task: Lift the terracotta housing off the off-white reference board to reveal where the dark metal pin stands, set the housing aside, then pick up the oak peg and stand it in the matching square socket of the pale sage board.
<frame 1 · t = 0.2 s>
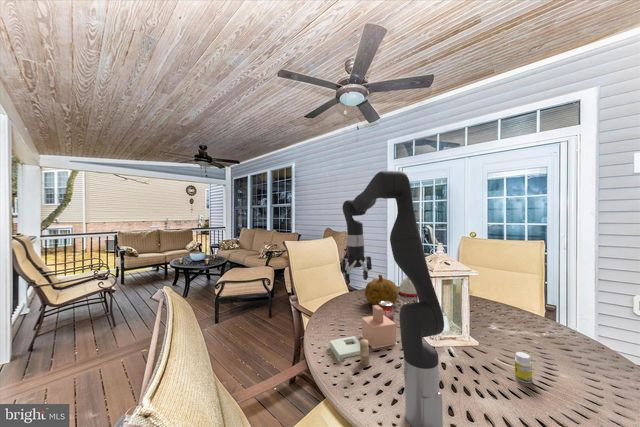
hand: (356, 280, 117), 29 cm above the table, fingers open, 8 cm apart
decorative pumpkin: (381, 305, 163), on the table
housing: (378, 339, 117), point 1 cm above the table, touching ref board
kitchen timer: (409, 293, 184), on the table
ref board: (378, 342, 117), on the table
soda can: (386, 326, 133), on the table
peg board: (347, 351, 111), on the table
peg: (364, 366, 100), on the table
supplement bottle: (523, 379, 90), on the table
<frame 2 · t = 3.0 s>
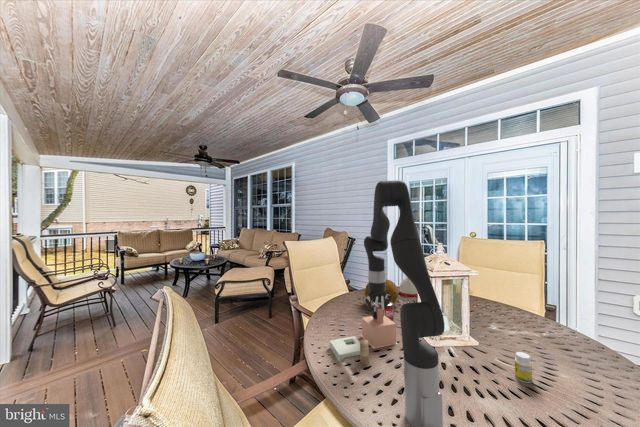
hand: (378, 318, 117), 11 cm above the table, fingers closed on housing, 2 cm apart
housing: (378, 339, 117), point 2 cm above the table, touching gripper
everything else where it was.
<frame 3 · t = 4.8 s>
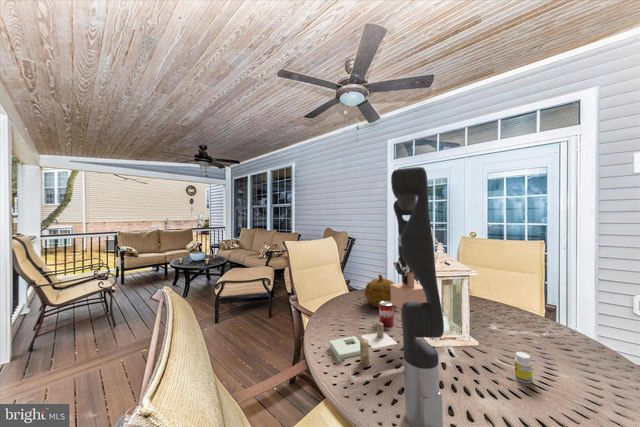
hand: (408, 283, 115), 27 cm above the table, fingers closed on housing, 2 cm apart
housing: (408, 305, 115), point 17 cm above the table, touching gripper
everything else where it was.
when the fingers open (12 cm above the table, at t = 7.1 s): housing drops 2 cm, on the table.
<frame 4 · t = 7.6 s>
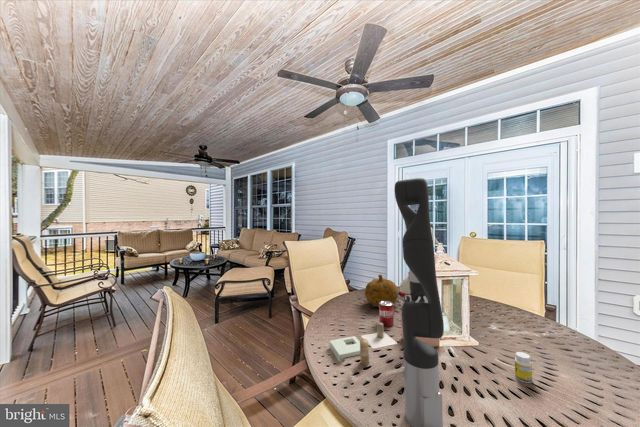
hand: (419, 317, 114), 12 cm above the table, fingers open, 7 cm apart
housing: (420, 345, 114), on the table
everything else where it was.
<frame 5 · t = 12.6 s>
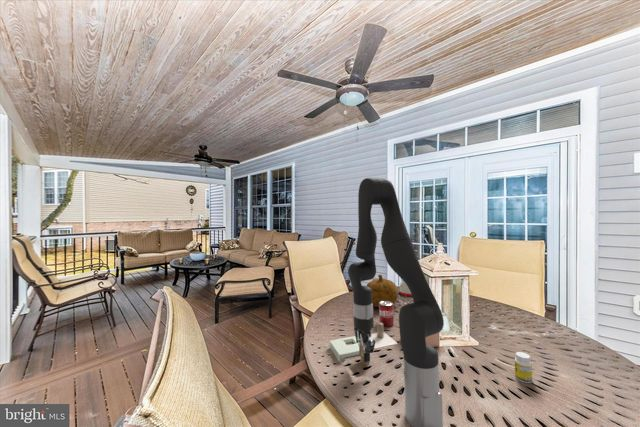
hand: (364, 358, 100), 3 cm above the table, fingers closed on peg, 3 cm apart
peg: (365, 366, 100), on the table, touching gripper
everything else where it was.
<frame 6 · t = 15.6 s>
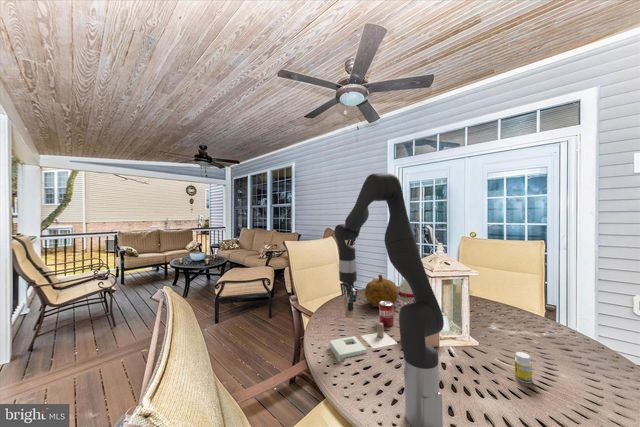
hand: (348, 309, 113), 17 cm above the table, fingers closed on peg, 3 cm apart
peg: (349, 316, 113), point 14 cm above the table, touching gripper
everything else where it was.
when the fingers open (4 cm above the table, at t = 18.7 s): peg stays where it is, resting in peg board.
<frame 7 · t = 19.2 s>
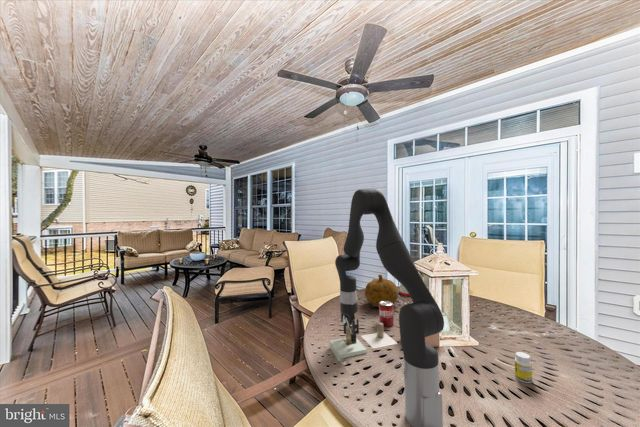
hand: (349, 337, 113), 5 cm above the table, fingers open, 7 cm apart
peg: (350, 348, 113), resting in peg board
everything else where it was.
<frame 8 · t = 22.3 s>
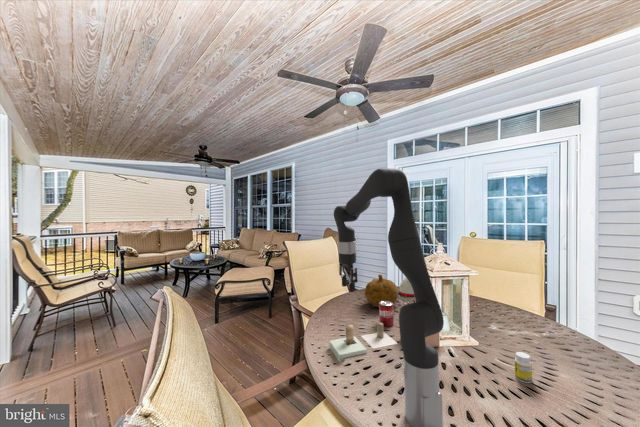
hand: (348, 288, 113), 26 cm above the table, fingers open, 8 cm apart
nothing on the table moved.
at the end: peg 0.0 cm from the target spot on the peg board, point 0.0 cm above the peg board's base; peg tilted 0°; housing moved 17.8 cm from its start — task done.
